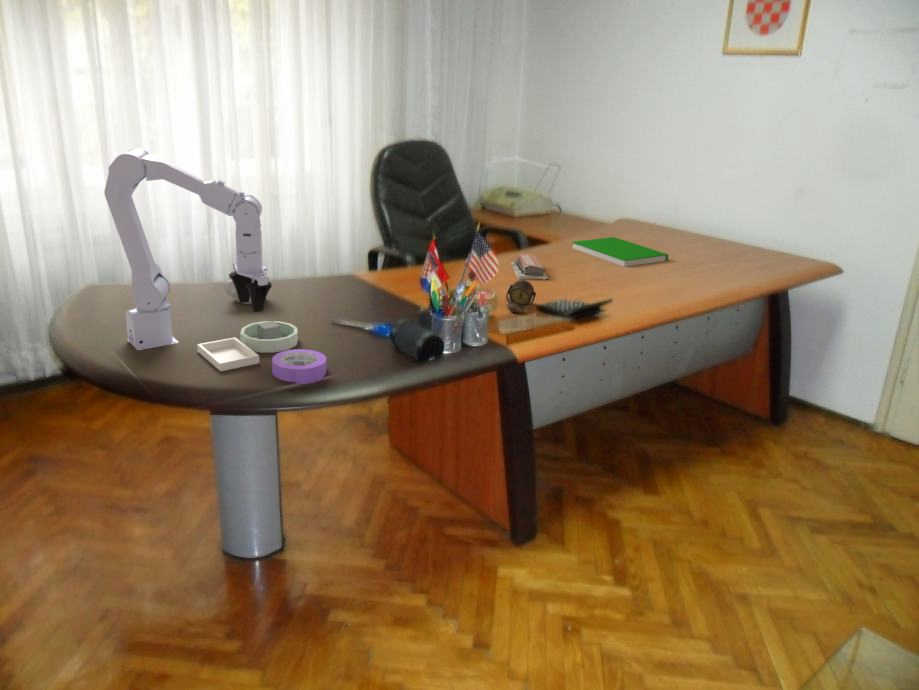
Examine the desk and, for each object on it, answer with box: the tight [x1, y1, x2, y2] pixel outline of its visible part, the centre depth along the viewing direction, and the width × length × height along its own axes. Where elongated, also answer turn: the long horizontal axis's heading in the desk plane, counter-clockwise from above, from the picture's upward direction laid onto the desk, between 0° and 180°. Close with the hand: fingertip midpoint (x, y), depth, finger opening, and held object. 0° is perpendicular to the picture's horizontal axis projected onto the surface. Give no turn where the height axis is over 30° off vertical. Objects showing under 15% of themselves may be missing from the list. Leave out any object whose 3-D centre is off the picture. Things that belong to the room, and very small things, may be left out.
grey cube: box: [257, 320, 281, 339], centre depth 180 cm, size 4×4×4 cm
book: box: [572, 236, 669, 268], centre depth 284 cm, size 22×28×3 cm
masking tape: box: [271, 348, 328, 386], centre depth 166 cm, size 12×12×4 cm
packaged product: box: [510, 253, 549, 280], centre depth 254 cm, size 18×5×10 cm
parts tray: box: [196, 336, 260, 372], centre depth 171 cm, size 9×13×2 cm
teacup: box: [224, 269, 270, 305], centre depth 208 cm, size 14×11×8 cm
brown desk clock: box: [505, 279, 537, 314], centre depth 218 cm, size 7×13×10 cm
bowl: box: [239, 320, 299, 353], centre depth 181 cm, size 13×13×4 cm
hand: (251, 306), depth 178 cm, fingers open, 7 cm apart
